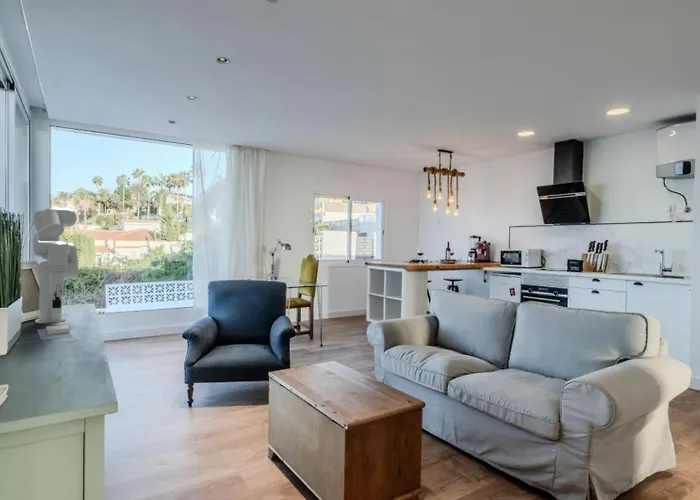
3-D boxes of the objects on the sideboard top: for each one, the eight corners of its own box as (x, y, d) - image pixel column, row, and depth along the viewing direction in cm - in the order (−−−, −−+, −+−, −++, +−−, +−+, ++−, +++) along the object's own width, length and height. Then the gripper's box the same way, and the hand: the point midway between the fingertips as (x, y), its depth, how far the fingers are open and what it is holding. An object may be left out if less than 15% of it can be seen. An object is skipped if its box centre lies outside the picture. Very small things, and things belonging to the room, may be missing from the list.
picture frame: (46, 326, 190) (47, 330, 183) (67, 324, 195) (69, 328, 188) (46, 331, 190) (47, 334, 183) (67, 329, 195) (69, 332, 188)
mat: (36, 330, 192) (36, 329, 192) (65, 327, 199) (65, 326, 199) (41, 340, 174) (41, 339, 174) (72, 337, 181) (72, 336, 181)
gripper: (46, 267, 195) (45, 305, 196) (49, 271, 184) (48, 311, 185) (65, 267, 200) (64, 304, 201) (69, 270, 189) (68, 310, 190)
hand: (56, 307), depth 193 cm, fingers closed
